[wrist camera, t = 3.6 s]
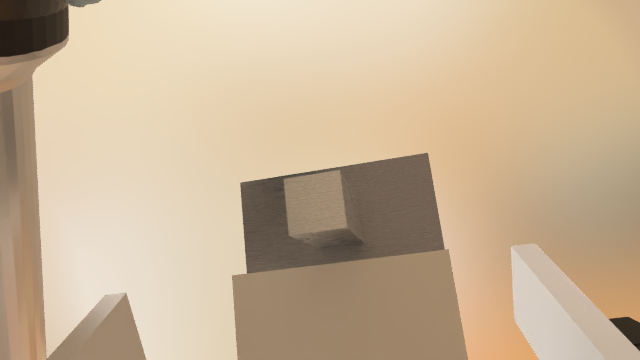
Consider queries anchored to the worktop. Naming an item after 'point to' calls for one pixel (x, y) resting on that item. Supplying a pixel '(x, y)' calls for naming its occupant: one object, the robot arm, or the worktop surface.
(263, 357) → the riser
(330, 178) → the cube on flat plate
